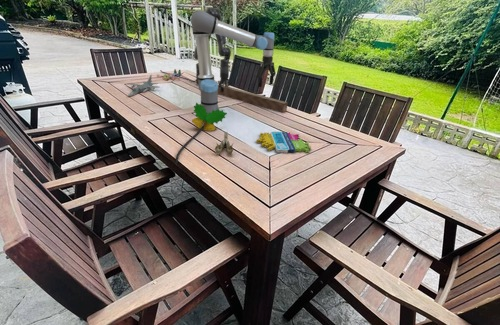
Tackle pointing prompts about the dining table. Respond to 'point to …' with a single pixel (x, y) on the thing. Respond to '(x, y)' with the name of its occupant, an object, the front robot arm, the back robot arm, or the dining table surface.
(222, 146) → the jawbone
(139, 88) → the airplane
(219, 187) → the dining table surface
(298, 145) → the pack of gloves
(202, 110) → the ornament
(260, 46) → the front robot arm
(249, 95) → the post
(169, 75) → the toy
